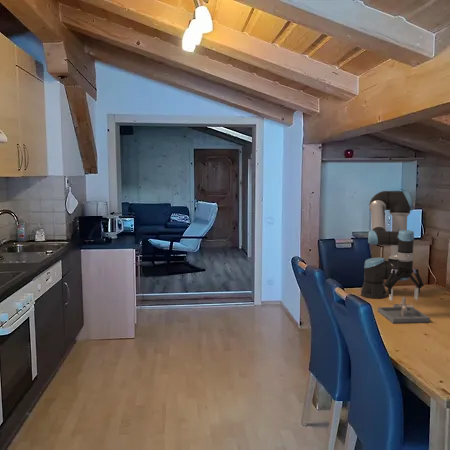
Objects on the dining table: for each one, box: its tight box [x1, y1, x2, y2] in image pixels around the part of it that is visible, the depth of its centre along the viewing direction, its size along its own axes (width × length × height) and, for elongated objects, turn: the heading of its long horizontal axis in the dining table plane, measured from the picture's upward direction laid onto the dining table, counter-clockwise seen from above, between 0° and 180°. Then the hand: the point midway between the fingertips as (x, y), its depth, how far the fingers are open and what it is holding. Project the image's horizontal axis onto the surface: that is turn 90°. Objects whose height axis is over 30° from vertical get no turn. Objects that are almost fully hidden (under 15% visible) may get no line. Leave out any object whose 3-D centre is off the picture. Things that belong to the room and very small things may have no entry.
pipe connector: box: [392, 296, 415, 316], centre depth 242 cm, size 10×10×10 cm
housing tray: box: [377, 306, 431, 325], centre depth 243 cm, size 20×19×2 cm
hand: (403, 299), depth 243 cm, fingers open, 13 cm apart
